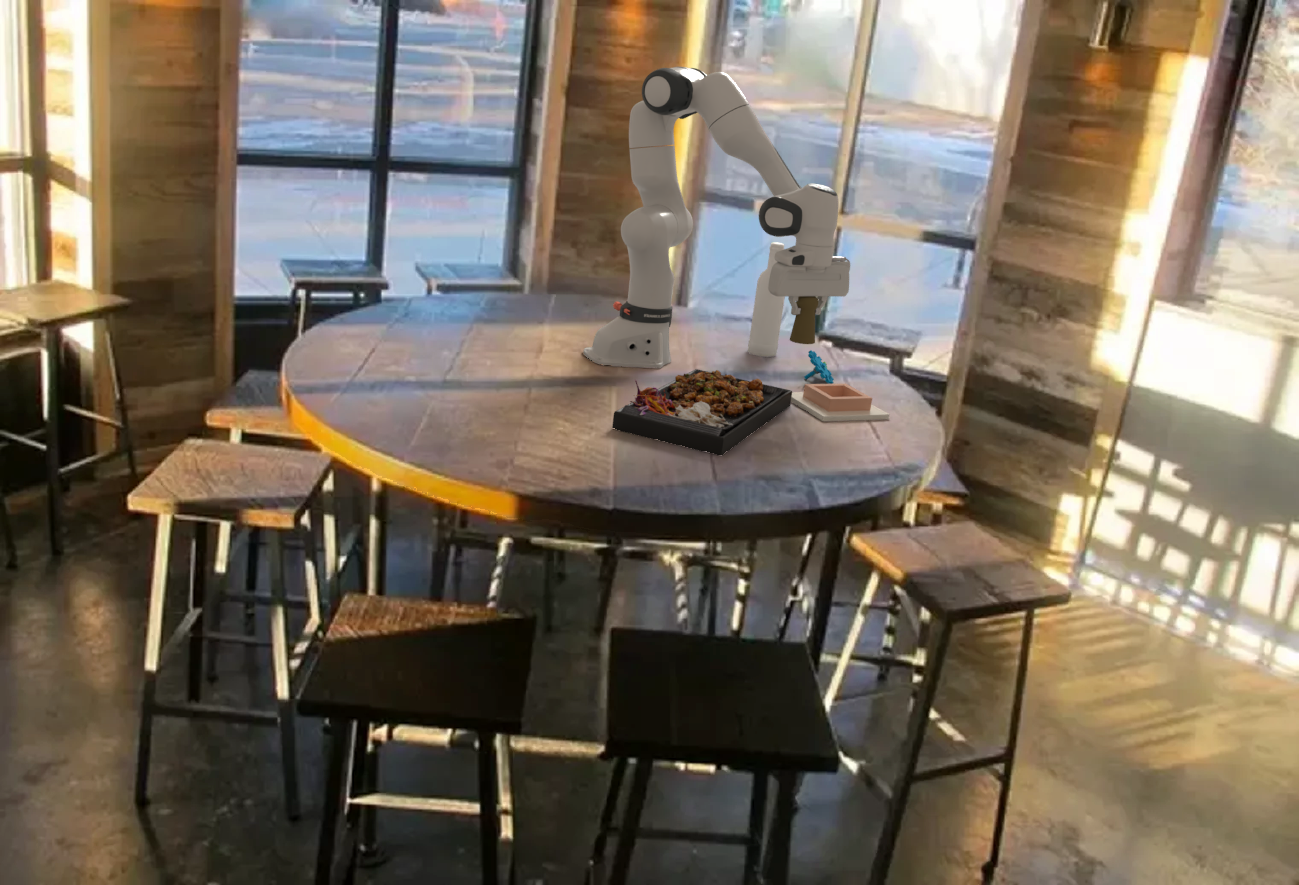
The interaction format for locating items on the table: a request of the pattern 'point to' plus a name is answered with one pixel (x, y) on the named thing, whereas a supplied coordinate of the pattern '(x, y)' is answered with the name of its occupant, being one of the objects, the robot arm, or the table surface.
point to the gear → (819, 368)
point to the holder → (837, 403)
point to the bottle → (766, 313)
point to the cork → (805, 321)
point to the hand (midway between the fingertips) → (805, 314)
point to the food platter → (702, 410)
